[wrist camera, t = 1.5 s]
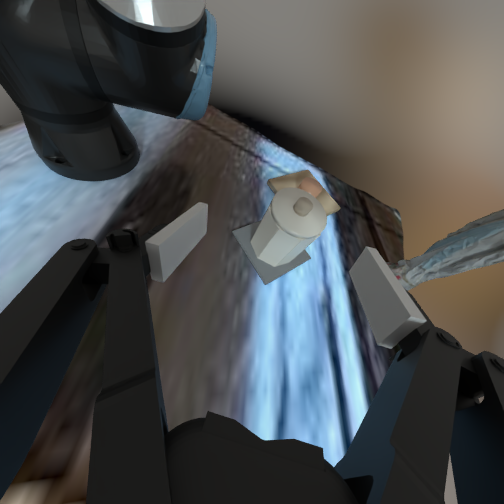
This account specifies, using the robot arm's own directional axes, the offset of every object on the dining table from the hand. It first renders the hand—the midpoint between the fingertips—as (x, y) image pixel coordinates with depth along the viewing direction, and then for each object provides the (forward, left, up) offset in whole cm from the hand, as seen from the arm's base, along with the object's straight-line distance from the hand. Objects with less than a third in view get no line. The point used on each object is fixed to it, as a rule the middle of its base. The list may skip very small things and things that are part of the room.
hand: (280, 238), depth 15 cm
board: (-13, +27, -18) cm, 35 cm away
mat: (-5, +11, -18) cm, 22 cm away
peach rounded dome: (-13, +27, -17) cm, 34 cm away
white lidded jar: (-5, +11, -17) cm, 21 cm away
